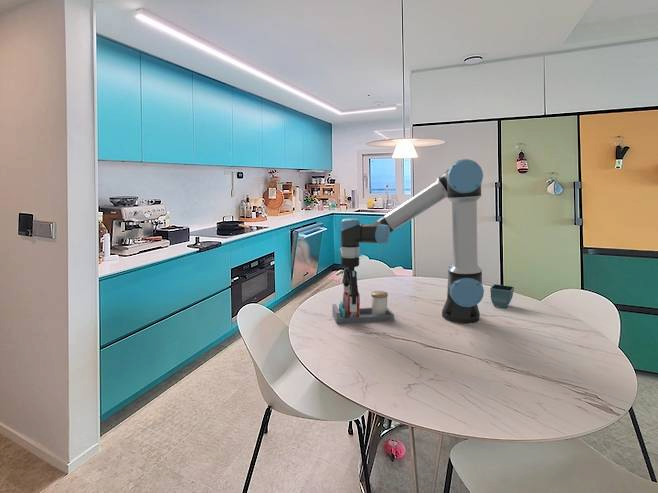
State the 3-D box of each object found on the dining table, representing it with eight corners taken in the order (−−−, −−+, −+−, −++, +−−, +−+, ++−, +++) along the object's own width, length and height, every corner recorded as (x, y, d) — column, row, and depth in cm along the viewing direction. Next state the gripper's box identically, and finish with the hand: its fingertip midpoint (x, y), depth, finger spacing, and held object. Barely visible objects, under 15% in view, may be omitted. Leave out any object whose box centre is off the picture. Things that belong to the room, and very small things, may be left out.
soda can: (358, 321, 151) (358, 293, 149) (341, 320, 152) (341, 292, 150) (360, 315, 157) (360, 288, 155) (344, 314, 159) (344, 287, 157)
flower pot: (492, 301, 176) (494, 283, 174) (513, 305, 171) (514, 286, 169) (488, 306, 169) (489, 288, 167) (509, 310, 163) (511, 291, 162)
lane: (385, 312, 163) (386, 301, 162) (393, 321, 152) (394, 309, 151) (332, 315, 159) (332, 304, 158) (336, 324, 148) (336, 313, 148)
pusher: (341, 314, 158) (341, 299, 157) (344, 321, 150) (344, 305, 149) (339, 314, 158) (338, 299, 157) (342, 321, 150) (342, 305, 149)
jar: (388, 314, 158) (389, 291, 157) (385, 319, 152) (385, 296, 151) (373, 312, 161) (373, 290, 159) (369, 317, 155) (369, 294, 153)
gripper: (336, 251, 162) (336, 297, 165) (347, 263, 137) (346, 317, 141) (352, 250, 163) (352, 296, 166) (366, 262, 139) (365, 315, 142)
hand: (350, 306), depth 154 cm, fingers open, 13 cm apart
